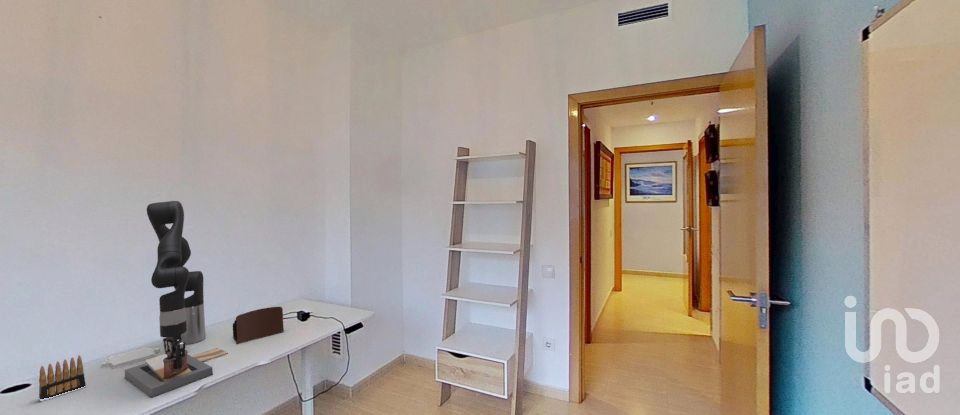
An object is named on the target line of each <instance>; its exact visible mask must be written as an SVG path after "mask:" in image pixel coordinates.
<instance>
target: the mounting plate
mask: <svg viewBox="0 0 960 415" xmlns="http://www.w3.org/2000/svg"><path fill="white" fill-rule="evenodd" d="M160 352H161V351H160V347H155V348H150V347H149V346H145V347H142V348H138V349H135V350H131V351H127V352H122V353H119V354H115V355H112V356H108V357H107V360H106V361H102V362H101V363H100V364H101V368H102V367H105V368H108V366H109V367H111V366H112V367H111V368H112V369H113V370H115V369H118V368H121V367H122V368H123V367H125V366H129V365H133V364H136V363H140V362H143V361H144V362H145V360H148V359H152V358H155V357H157V356H156V354H159V353H160Z"/></svg>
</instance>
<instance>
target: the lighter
mask: <svg viewBox="0 0 960 415" xmlns="http://www.w3.org/2000/svg"><path fill="white" fill-rule="evenodd" d="M174 351H176V350H174ZM188 352H189V351H188V350H187V349H185V357H183V358H182V368H180V369H177V370H175V369H174V359H173V354H171V351H170V352H168V353H167V357H166V358H165V359H163V362H164V377H163V379H170V378H173V377H175V376H177V375H179V374H181V373H183V372H184V371H186V370H187V369H188V367H187V355H188V354H189V353H188ZM178 355H180V353H179V354H178Z"/></svg>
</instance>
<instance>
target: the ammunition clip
mask: <svg viewBox="0 0 960 415" xmlns="http://www.w3.org/2000/svg"><path fill="white" fill-rule="evenodd" d="M76 362H77V363H76ZM47 366H48V367H47V374H46V369H45V367H44V366H43V365H41V366H40V369H39V379H38V381H39V382H38V383H39V386H38V388H39V394H38V395H39V396H38V398H40V399H44V398H49V397H53V396H56V395H59V394H62V393H65V392H68V391H72V390H75V389H78V388H81V387H84V386H87V384H86V379H85V378H86V377H85V372H84V371H85V370H84V365H83V359H82V357H81V355H78V356H77V359H76V361H75V359H74V357H73V356H72V357H71V358H70V361H69V365H68V361H67V359H66V358H65V359H63V363H62V368H61V364H60V362H59V361H56V364H55V367H53V365H52V364H51V363H49V364H48V365H47ZM54 368H55V371H54ZM84 388H85V387H84ZM81 389H82V388H81Z"/></svg>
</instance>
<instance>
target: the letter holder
mask: <svg viewBox="0 0 960 415" xmlns="http://www.w3.org/2000/svg"><path fill="white" fill-rule="evenodd" d="M283 311H284V309H283V307H282V306H270V307H265V308H259V309H254V310H251V311H247V312H244V313H241V314H238V315H237V316H236V317H235V319H234V322H233V323H232V339H233V340H234V341H235V343H236V344H237V345H240V344H243V343H246V342H250V341H254V340H259V339H262V338H266V337H267V338H268V337H270V336H275V335H277V334H282V333H284V332H285V330H284V312H283Z"/></svg>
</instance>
